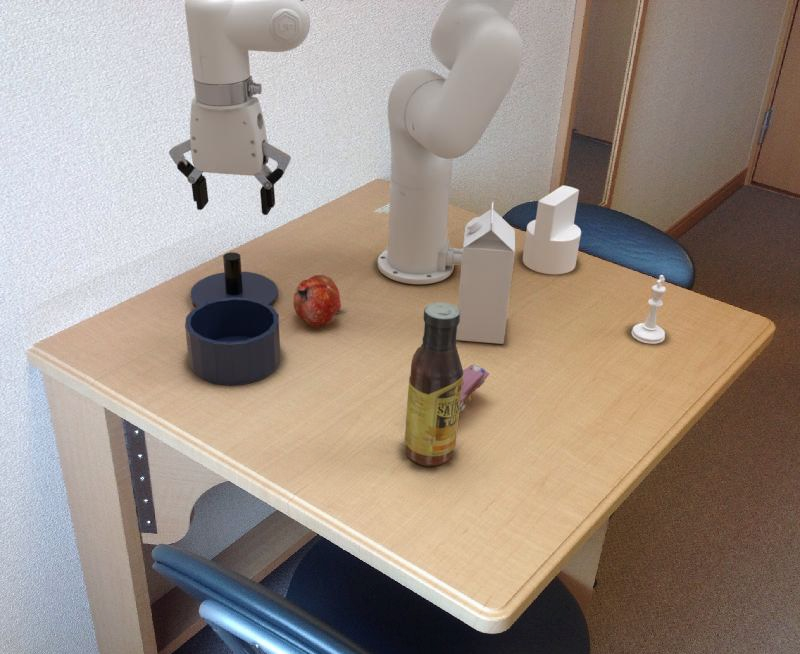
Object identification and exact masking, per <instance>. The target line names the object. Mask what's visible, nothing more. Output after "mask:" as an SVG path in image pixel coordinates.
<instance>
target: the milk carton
mask: <svg viewBox="0 0 800 654" xmlns="http://www.w3.org/2000/svg"><path fill="white" fill-rule="evenodd" d="M494 203H495V202H494V201H492V202H491V208H490V209H489V210H487V211H486V212H484V213H483V214H481V215H480V216H476V217H473V218H472V219H470V220H469V222H467V224H466V225H465V227H464V235H463V236H464V237H463V244H462V249H463V254H462V265H460V277H459V289H458V301H457V308H458V309H459V310H460V322H459V324H458V325H457V334H456V341H463V342H476V343H484V344H485V343H487V344H499V345H503V344H504V343H505V336H506V329H507V328H506V327H507V319H508V311H509V304H510V295H511V288H512V278H513V270H514V261H515V254H516V229H515V228H513V226H511V225H510V224H509V223H508V222H507V221H506V220H505V219H504V218H503V217H502V216H501V215H500V214H499V213H498V212H497V211H496V210H495V209H494Z"/></svg>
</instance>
